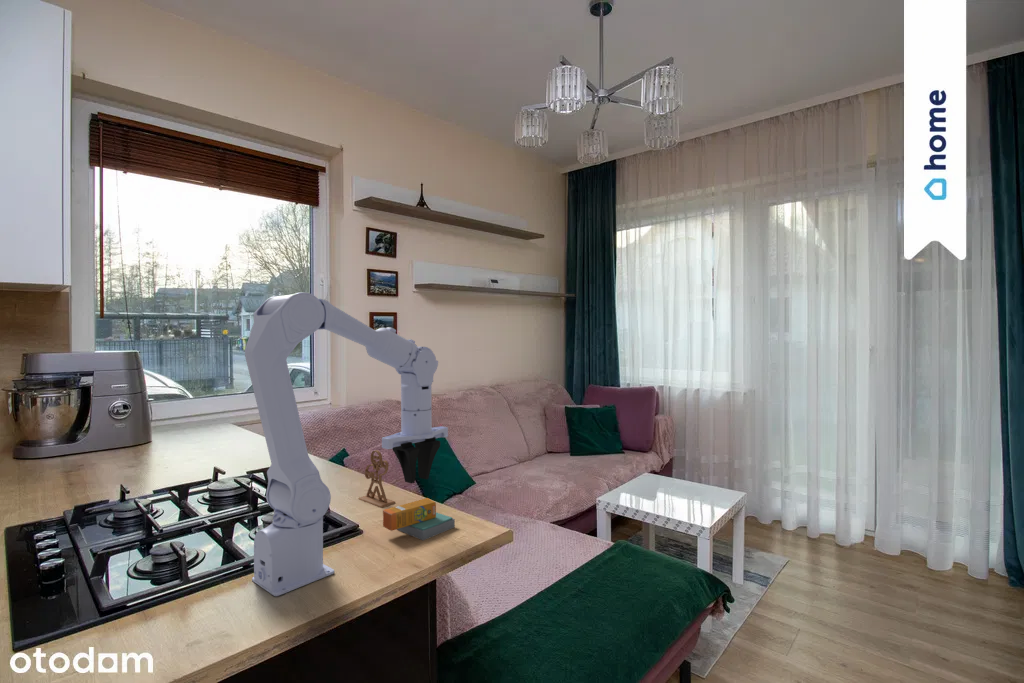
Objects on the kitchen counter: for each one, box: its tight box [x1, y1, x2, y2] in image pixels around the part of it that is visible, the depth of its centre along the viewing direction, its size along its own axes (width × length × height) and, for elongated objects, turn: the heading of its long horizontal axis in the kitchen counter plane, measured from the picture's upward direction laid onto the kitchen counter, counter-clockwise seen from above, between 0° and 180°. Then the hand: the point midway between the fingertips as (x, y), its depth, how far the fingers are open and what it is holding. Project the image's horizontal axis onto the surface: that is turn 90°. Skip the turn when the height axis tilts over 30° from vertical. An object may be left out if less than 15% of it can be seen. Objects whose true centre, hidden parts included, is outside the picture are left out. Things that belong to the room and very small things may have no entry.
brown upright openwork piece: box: [358, 449, 396, 509], centre depth 112 cm, size 9×4×12 cm, turn 51°
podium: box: [396, 511, 456, 541], centre depth 97 cm, size 8×8×2 cm
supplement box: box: [382, 497, 437, 532], centre depth 95 cm, size 3×3×10 cm
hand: (416, 480), depth 95 cm, fingers open, 3 cm apart
